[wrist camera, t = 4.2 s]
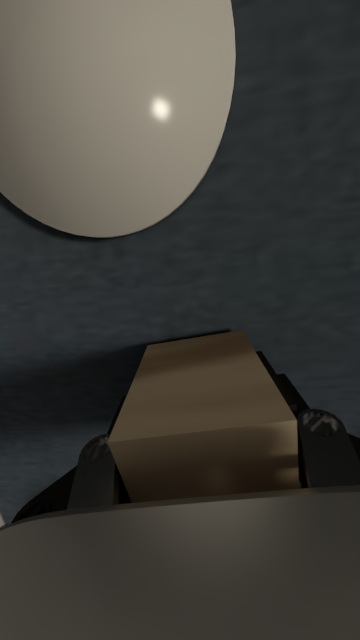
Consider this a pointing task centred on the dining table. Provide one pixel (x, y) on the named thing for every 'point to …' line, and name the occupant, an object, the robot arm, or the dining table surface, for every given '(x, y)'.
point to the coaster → (111, 108)
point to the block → (204, 423)
